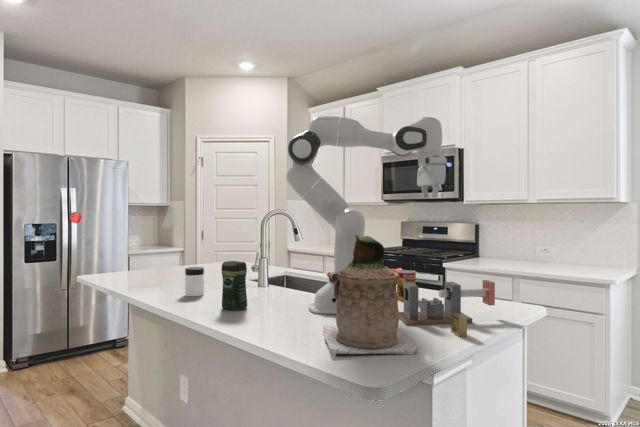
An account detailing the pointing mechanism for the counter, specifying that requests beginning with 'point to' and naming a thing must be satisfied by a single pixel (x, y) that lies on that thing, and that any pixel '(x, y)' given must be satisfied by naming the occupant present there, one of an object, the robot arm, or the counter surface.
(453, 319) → the frame
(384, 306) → the cookie jar
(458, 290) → the shaft rig
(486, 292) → the shaft
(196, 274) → the jar
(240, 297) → the coffee jar
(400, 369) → the counter surface
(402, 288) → the canned food
